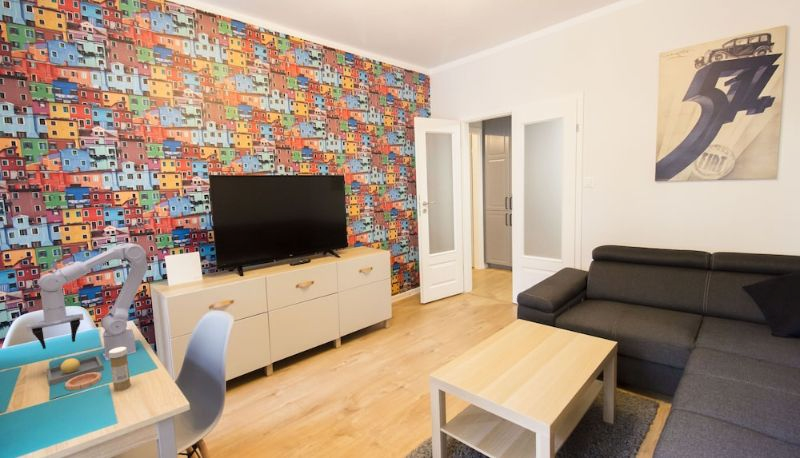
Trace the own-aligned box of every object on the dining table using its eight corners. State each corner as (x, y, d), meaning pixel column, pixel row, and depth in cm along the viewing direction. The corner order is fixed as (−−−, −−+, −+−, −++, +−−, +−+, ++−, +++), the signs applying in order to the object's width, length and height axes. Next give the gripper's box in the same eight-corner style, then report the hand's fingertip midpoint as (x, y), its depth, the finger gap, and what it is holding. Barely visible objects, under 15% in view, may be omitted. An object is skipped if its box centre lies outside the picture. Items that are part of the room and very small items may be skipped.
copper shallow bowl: (99, 374, 129) (98, 369, 129) (103, 383, 123) (102, 378, 123) (64, 384, 123) (64, 379, 123) (67, 394, 117) (66, 389, 117)
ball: (79, 366, 133) (76, 354, 132) (82, 371, 130) (79, 358, 129) (61, 373, 130) (57, 360, 129) (63, 378, 126) (60, 364, 125)
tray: (98, 361, 140) (97, 355, 139) (103, 371, 131) (103, 365, 131) (47, 375, 130) (46, 369, 129) (49, 387, 121) (49, 380, 121)
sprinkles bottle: (132, 384, 122) (127, 345, 121) (129, 390, 118) (124, 350, 117) (115, 387, 120) (110, 348, 119) (111, 394, 116) (106, 353, 115)
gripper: (25, 315, 122) (30, 354, 124) (82, 304, 132) (87, 341, 134) (24, 310, 127) (30, 348, 128) (80, 300, 137) (84, 336, 139)
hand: (59, 344), depth 131 cm, fingers open, 7 cm apart
